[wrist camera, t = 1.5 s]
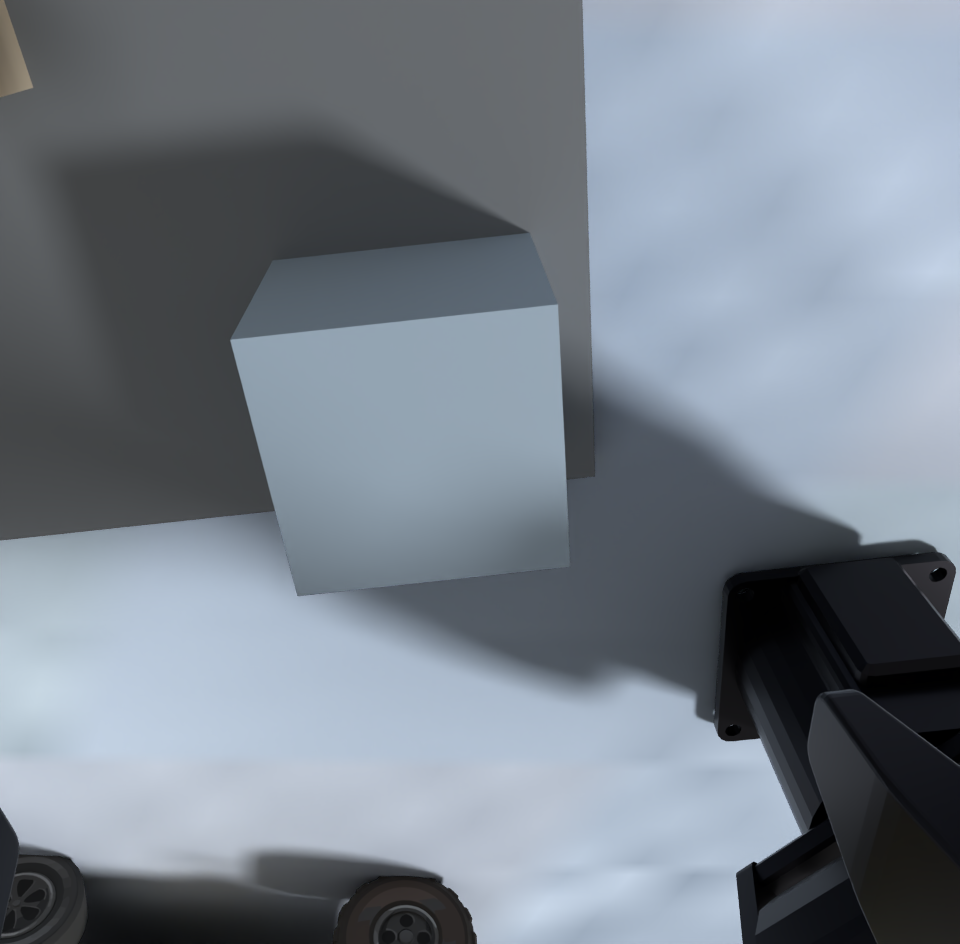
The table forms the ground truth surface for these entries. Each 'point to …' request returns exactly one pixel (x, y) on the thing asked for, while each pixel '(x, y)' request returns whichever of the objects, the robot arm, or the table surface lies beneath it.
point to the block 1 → (11, 58)
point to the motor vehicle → (356, 940)
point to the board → (250, 216)
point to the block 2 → (409, 412)
